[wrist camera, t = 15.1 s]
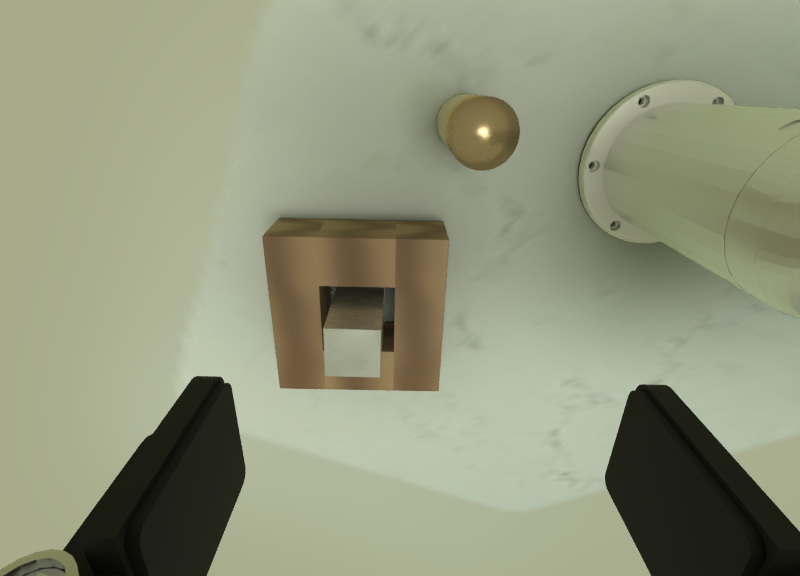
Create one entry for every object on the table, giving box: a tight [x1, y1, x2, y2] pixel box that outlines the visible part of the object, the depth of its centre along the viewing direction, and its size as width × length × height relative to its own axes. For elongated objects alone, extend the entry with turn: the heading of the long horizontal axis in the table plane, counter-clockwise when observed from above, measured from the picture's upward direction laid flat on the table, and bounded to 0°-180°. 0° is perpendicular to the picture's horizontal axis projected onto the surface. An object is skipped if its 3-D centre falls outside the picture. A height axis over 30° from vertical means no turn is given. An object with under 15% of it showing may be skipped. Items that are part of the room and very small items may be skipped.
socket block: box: [262, 218, 449, 391], centre depth 38 cm, size 14×14×5 cm
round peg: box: [437, 94, 520, 170], centre depth 29 cm, size 4×4×10 cm
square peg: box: [323, 286, 385, 378], centre depth 36 cm, size 4×4×10 cm
